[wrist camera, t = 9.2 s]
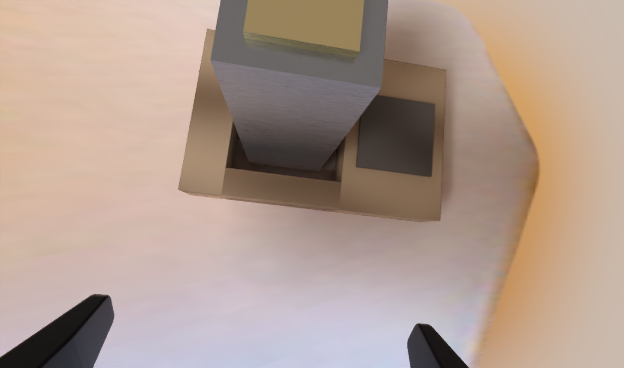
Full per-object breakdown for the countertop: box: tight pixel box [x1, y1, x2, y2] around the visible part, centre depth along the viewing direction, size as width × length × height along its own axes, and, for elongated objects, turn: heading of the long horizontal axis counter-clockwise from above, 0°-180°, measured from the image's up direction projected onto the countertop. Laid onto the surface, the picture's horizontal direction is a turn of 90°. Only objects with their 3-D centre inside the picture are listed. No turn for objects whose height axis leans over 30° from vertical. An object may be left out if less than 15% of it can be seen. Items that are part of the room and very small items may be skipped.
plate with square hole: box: [178, 29, 446, 222], centre depth 19 cm, size 10×15×3 cm, turn 84°
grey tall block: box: [210, 0, 388, 172], centre depth 14 cm, size 4×4×12 cm
